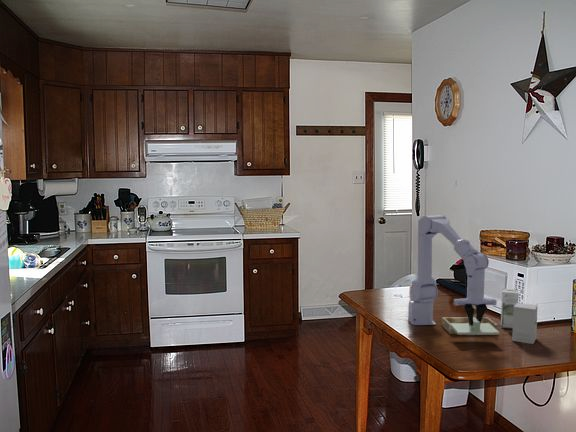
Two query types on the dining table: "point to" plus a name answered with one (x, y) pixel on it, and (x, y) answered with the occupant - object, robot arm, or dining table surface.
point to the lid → (474, 328)
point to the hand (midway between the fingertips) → (474, 324)
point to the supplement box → (524, 323)
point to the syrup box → (508, 307)
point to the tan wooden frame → (448, 320)
